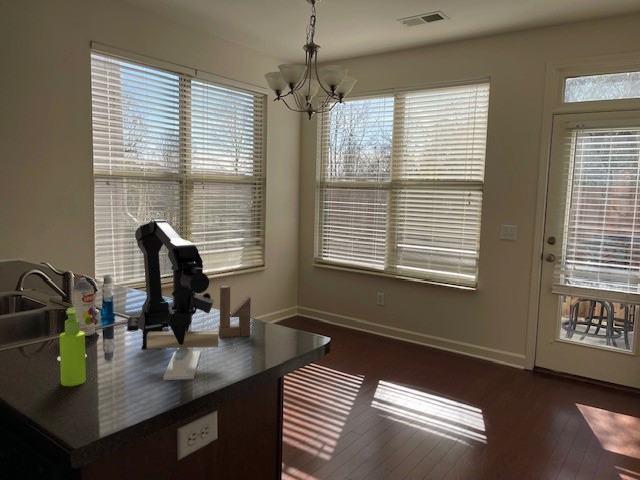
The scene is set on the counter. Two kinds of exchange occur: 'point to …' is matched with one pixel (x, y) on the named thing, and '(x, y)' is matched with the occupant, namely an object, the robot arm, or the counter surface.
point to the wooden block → (233, 315)
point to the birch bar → (190, 341)
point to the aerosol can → (84, 306)
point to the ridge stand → (182, 364)
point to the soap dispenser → (72, 352)
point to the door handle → (134, 325)
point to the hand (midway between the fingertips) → (183, 339)
